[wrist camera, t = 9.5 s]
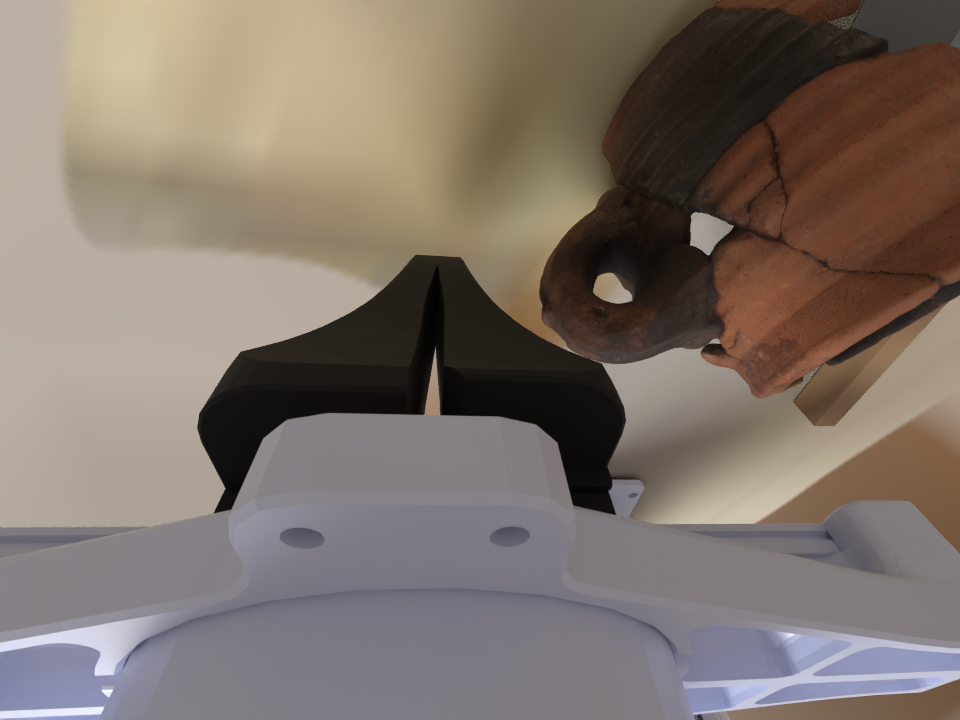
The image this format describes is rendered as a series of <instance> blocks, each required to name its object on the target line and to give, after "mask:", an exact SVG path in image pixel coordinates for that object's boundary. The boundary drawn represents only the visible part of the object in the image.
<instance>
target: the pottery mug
mask: <svg viewBox="0 0 960 720" xmlns="http://www.w3.org/2000/svg"><path fill="white" fill-rule="evenodd" d="M861 1H862V0H721V1H720V2H718V3H717V4H716V5H715V6H714V7H712V8H710V9H707V10H706V11H705V12H703V13H702V14H700V15H699V16H698V17H697V18H696V19H694V20H693V21H692V22H691V23H690V24H689V25H688V26H687V27H686V28H685V29H683V30H682V31H681V32H680V33H679V34H678V35H677V36H675V37H674V38H672V39H671V40H670V41H669V42H668V43H667V44H666V45H665V46H664V47H663V48H662V50H661V51H660V52H659V54H658V55H657V56H656V57H655V59H654V60H653V61H652V62H651V63H650V64H649V65H648V67H647V68H646V69H644V70H643V72H642V73H641V74H640V75H639V76H638V78H637V80H636V81H635V83H634V84H633V85H632V86H631V88H630V89H629V90H628V92H627V94H626V95H625V97H624V99H623V101H622V103H621V105H620V108H619V110H618V112H617V113H616V115H615V116H614V119H613V121H612V122H611V124H610V127H609V130H608V132H607V134H606V136H605V139H604V142H603V144H602V151H603V153H604V155H605V157H606V158H607V159H608V161H609V162H610V163H611V171H612V173H613V175H614V176H615V177H616V183H617V188H614V189H612V190H610V191H607V192H606V193H604V194H603V195H602V196H601V197H600V199H599V201H598V203H597V206H596V208H595V209H594V210H593V211H592V212H591V213H589V214H588V215H586V216H585V217H584V218H582V219H581V220H580V221H579V222H578V223H576V224H575V225H574V226H573V227H572V228H571V229H570V230H569V231H568V232H567V233H566V234H565V236H564V237H563V238H562V239H561V241H560V242H559V244H558V245H557V247H556V248H555V249H554V251H553V252H552V254H551V255H550V257H549V259H548V261H547V263H546V265H545V268H544V271H543V275H542V277H541V280H540V289H539V294H540V300H541V303H542V305H543V307H542V320H543V322H544V324H545V325H546V326H548V327H549V328H551V329H553V330H554V331H556V332H557V333H558V334H559V335H560V336H561V338H562V339H563V340H565V342H566V344H567V346H568V347H569V349H571V350H572V351H574V352H575V353H577V354H579V355H582V356H584V357H586V358H588V359H592V360H595V361H599V362H604V363H611V364H625V363H632V362H636V361H641V360H644V359H648V358H651V357H653V356H655V355H658V354H660V353H662V352H665V351H667V350H670V349H673V348H680V347H681V348H686V349H697V348H701V347H703V346H704V347H703V349H702V351H701V356H702V357H703V358H704V359H705V360H706V361H707V362H709V363H711V364H713V365H716V366H721V367H726V368H731V369H734V370H736V371H737V372H738V373H739V375H740V376H741V377H742V378H743V379H744V380H745V381H746V382H747V384H748V385H749V386H750V388H751V392H752V394H753V395H754V396H755V397H757V398H764V397H768V396H769V395H772V394H775V393H780V392H783V391H785V390H787V389H788V388H791V387H794V386H796V385H798V384H800V383H801V382H802V381H803V376H804V375H806V374H808V373H809V372H811V371H812V370H814V369H815V368H817V367H818V366H820V365H822V364H823V363H826V364H827V365H829V366H835V365H838V364H840V363H842V362H844V361H846V360H848V359H850V358H852V357H854V356H856V355H857V354H859V353H861V352H863V351H864V350H866V349H868V348H870V347H872V346H874V345H876V344H877V343H878V342H880V341H881V340H882V339H884V338H886V337H888V336H890V335H892V334H894V333H896V332H899V331H900V330H902V329H904V328H906V327H907V326H909V325H911V324H912V323H914V322H915V321H917V320H919V319H921V318H922V317H924V316H926V315H928V314H929V313H931V312H933V311H934V310H936V309H938V308H939V307H941V306H942V305H944V304H945V303H947V302H949V301H951V300H952V299H954V298H956V297H958V296H959V295H960V49H959V48H956V47H952V46H950V45H948V44H945V43H940V42H937V43H930V44H926V45H922V46H918V47H914V48H909V49H904V50H902V51H899V52H895V53H889V52H888V41H887V40H886V39H884V38H878V37H874V36H872V35H870V34H869V33H867V32H865V31H862V30H859V29H856V28H851V29H841V28H838V27H836V26H834V25H832V24H831V23H828V21H831V20H835V19H838V18H841V17H845V16H849V15H852V14H854V13H855V12H856V11H857V9H858V8H859V6H860V3H861ZM694 212H698V213H700V212H702V213H706V214H709V215H711V216H714V217H716V218H719V219H720V220H723V221H726V222H727V223H728V224H730V225H734V227H733V229H732V230H731V231H730V233H728V234H727V235H726V236H724V237H723V238H722V239H721V240H720V241H719V242H718V243H717V244H716V245H715V247H714V249H713V251H712V252H711V254H710V255H706V254H705V253H704V252H703V251H702V250H700V249H698V248H697V247H694V246H690V239H691V232H690V224H691V215H692V214H693V213H694ZM604 273H614V274H615V276H616V277H617V278H618V279H619V281H620V282H621V284H622V286H623V287H624V288H625V289H626V290H628V291H629V292H630V293H631V294H632V300H633V301H631V302H627V303H622V304H615V303H610V302H607V301H604V300H602V299H600V298H599V297H597V296H596V295H595V294H594V293H593V288H594V284H595V281H596V279H597V277H598V276H599V275H601V274H604ZM715 338H718V339H719V340H720V342H721V344H708V343H709V342H710V341H711V340H712V339H715ZM706 344H707V345H706Z"/></svg>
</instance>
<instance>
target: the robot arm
mask: <svg viewBox="0 0 960 720" xmlns="http://www.w3.org/2000/svg"><path fill="white" fill-rule="evenodd" d="M435 346H436V359H437V372H438V385H439V397H440V415H424V413H425V405H426V399H427V393H428V387H429V382H430V376H431V369H432V364H433V358H434V352H435ZM625 422H626V418H625V411H624V406H623V404H622V402H621V400H620V397H619V395H618V393H617V391H616V388H615V386H614V384H613V382H612V380H611V379H610V377H609V375H608V374H607V372H606V370H605V369H604V367H603V365H602V364H601V363H599V362H596V361H593V360H591V359H588V358H585V357H582V356H580V355H577V354H574V353H572V352H569V351H567V350H565V349H563V348H560V347H558V346H556V345H554V344H552V343H550V342H548V341H546V340H544V339H543V338H541V337H539V336H537V335H536V334H534V333H533V332H531V331H529V330H528V329H526V328H525V327H523V326H522V325H520V324H519V323H517V322H516V321H515V320H513V319H512V318H511V317H510V316H509V315H507V314H506V313H505V312H504V311H503V310H501V309H500V308H499V307H498V306H497V305H496V304H495V303H494V302H493V301H492V300H491V299H490V298H489V296H488V295H487V294H486V293H485V292H484V290H483V289H482V288H481V287H480V285H479V284H478V283H477V281H476V280H475V279H474V277H473V276H472V274H471V273H470V271H469V270H468V268H467V266H466V264H465V263H464V261H463V260H462V259H461V258H460V257H445V256H428V255H415V256H414V257H413V258H412V259H411V260H410V261H409V263H408V264H407V265H406V266H405V267H404V269H403V270H402V271H401V272H400V273H399V274H398V275H397V276H396V277H395V278H394V279H393V280H392V281H391V282H390V283H389V284H388V285H387V286H386V287H385V288H384V289H383V290H381V291H380V292H379V293H378V294H377V295H376V296H374V297H373V298H372V299H371V300H369V301H368V302H366V303H365V304H363V305H362V306H360V307H359V308H357V309H356V310H354V311H352V312H351V313H349V314H347V315H345V316H344V317H341V318H339V319H337V320H335V321H333V322H331V323H329V324H327V325H325V326H323V327H321V328H318V329H316V330H313V331H311V332H308V333H305V334H302V335H300V336H297V337H294V338H291V339H288V340H285V341H281V342H278V343H274V344H270V345H266V346H262V347H258V348H255V349H251V350H246V351H242V352H240V353H239V355H238V356H237V357H236V359H235V360H234V362H233V363H232V364H231V365H230V367H229V368H228V369H227V371H226V372H225V374H224V375H223V377H222V379H221V380H220V382H219V383H218V385H217V387H216V388H215V390H214V392H213V393H212V395H211V396H210V398H209V399H208V401H207V402H206V404H205V406H204V407H203V409H202V411H201V412H200V414H199V420H198V427H197V429H198V432H199V435H200V439H201V442H202V444H203V446H204V448H205V450H206V452H207V454H208V456H209V457H210V459H211V461H212V463H213V465H214V467H215V469H216V471H217V473H218V475H219V477H220V478H221V480H222V482H223V484H224V486H225V488H226V489H225V491H224V493H223V495H222V497H221V499H220V501H219V503H218V505H217V507H216V509H215V512H214V514H209V515H204V516H200V517H195V518H190V519H185V520H181V521H176V522H171V523H166V524H162V525H157V526H152V527H0V720H730V718H729V716H728V715H727V714H726V712H725V711H729V710H737V709H746V708H754V707H762V706H770V705H779V704H787V703H796V702H805V701H814V700H824V699H834V698H845V697H856V696H868V695H883V694H899V693H916V692H923V691H926V690H928V689H931V688H934V687H937V686H940V685H943V684H945V683H948V682H951V681H954V680H957V679H960V554H959V553H958V552H957V551H956V550H955V549H954V547H953V546H952V545H951V544H950V543H949V542H948V541H947V540H946V539H945V538H944V537H943V536H942V535H941V534H940V533H939V532H938V531H937V530H936V529H935V527H934V526H933V525H932V524H931V523H930V522H929V521H928V520H927V519H926V518H925V517H924V516H923V515H922V514H921V513H920V512H919V511H918V510H917V508H916V507H915V506H914V505H913V504H912V503H911V502H907V501H855V502H850V503H847V504H845V505H842V506H840V507H839V508H837V509H836V510H834V511H833V512H832V513H831V514H830V515H829V516H828V517H827V518H826V519H825V521H824V523H823V524H653V523H648V522H644V521H639V520H635V519H630V518H628V517H629V515H630V514H631V512H632V510H633V508H634V507H635V505H636V503H637V501H638V500H639V498H640V496H641V494H642V493H643V491H644V485H643V483H642V481H640V480H612V479H611V476H610V473H609V470H608V467H607V466H608V464H609V462H610V460H611V458H612V455H613V453H614V451H615V449H616V447H617V445H618V442H619V440H620V438H621V436H622V433H623V430H624V426H625ZM696 714H697V716H696Z"/></svg>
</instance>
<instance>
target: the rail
mask: <svg viewBox="0 0 960 720" xmlns="http://www.w3.org/2000/svg"><path fill="white" fill-rule="evenodd" d="M947 303H948V302H947ZM947 303H945V304H944V305H942V306H941V307H939V308H938V309H936V310H934V311H933V312H931V313H929V314H928V315H926V316H924V317H922V318H921V319H919V320H917V321H915V322H914V323H912V324H911V325H909V326H907V327H906V328H904V329H902V330H900V331H899V332H896V333H894V334H892V335H890V336H888V337H886V338H884V339H882V340H881V341H880V342H878V343H877V344H876V345H874V346H872V347H870V348H868V349H866V350H864V351H863V352H861V353H859V354H857V355H856V356H854V357H852V358H850V359H848V360H846V361H844V362H842V363H840V364H838V365H835V366H829V365H827V364H826V363H824V364H823V365H822V366H821V367H820V369H819V370H818V371H817V373H816V374H815V375H814V376H813V378H812V379H811V380H810V382H809V383H808V384H807V385H806V387H805V388H804V389H803V391H802V392H801V393H800V394H799V396H798V397H797V398H796V399H795V401H794V403H795V404H796V406H797V407H798V408H799V409H800V410H801V411H802V412H803V413H804V415H805V416H806V417H807V418H808V419H809V420H810V421H811V422H812V424H813V425H814V426H835V425H836V424H837V423H838V422H839V421H840V419H841V418H842V417H843V416H844V415H845V414H846V413H847V412H848V411H849V410H850V409H851V407H852V406H853V405H854V404H855V403H856V402H857V401H858V400H859V399H860V398H861V397H862V395H863V394H864V393H865V392H866V391H867V390H868V389H869V388H870V387H871V386H872V385H873V383H874V382H875V381H876V380H877V379H878V378H879V377H880V376H881V375H882V374H883V372H884V371H885V370H886V369H887V368H888V367H889V366H890V365H891V364H892V363H893V362H894V360H895V359H896V358H897V357H898V356H899V355H900V354H901V353H902V352H903V351H904V350H905V348H906V347H907V346H908V345H909V344H910V343H911V342H912V341H913V340H914V339H915V338H916V336H917V335H918V334H919V333H920V332H921V331H922V330H923V329H924V328H925V327H926V326H927V324H928V323H929V322H930V321H931V320H932V319H933V318H934V317H935V316H936V315H937V313H938V312H939V311H940V310H941V309H942V308H943V307H944V306H945V305H946V304H947Z"/></svg>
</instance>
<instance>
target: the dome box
mask: <svg viewBox="0 0 960 720" xmlns="http://www.w3.org/2000/svg"><path fill="white" fill-rule="evenodd" d="M851 28H856V29H859V30H862V31H865V32H867V33H869V34H870V35H872V36H874V37H878V38H884V39H886V40H887V41H888V52H889V53H895V52H899V51H902V50H904V49H909V48H914V47H918V46H922V45H926V44H930V43H937V42H940V43H945V44H948V45H950V46H952V47H956V48H959V49H960V0H865V1H864V3H863V5H862V7H861V9H860V11H859V13H858V15H857V17H856V19H855V21H854V23H853V25H852V27H851Z"/></svg>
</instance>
